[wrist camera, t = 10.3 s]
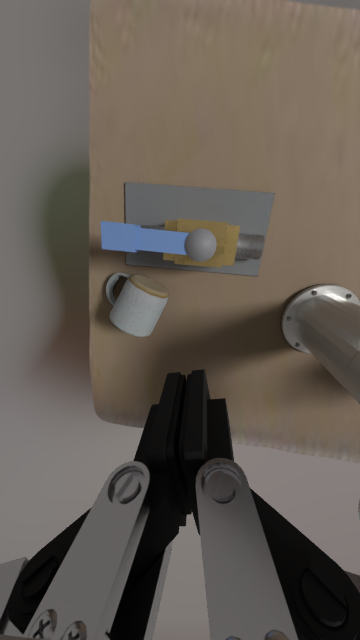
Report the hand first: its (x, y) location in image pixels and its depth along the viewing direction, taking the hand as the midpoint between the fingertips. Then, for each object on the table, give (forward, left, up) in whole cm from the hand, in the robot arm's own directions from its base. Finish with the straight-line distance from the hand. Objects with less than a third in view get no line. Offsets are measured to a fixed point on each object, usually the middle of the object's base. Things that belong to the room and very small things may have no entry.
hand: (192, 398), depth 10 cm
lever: (+5, -6, -21) cm, 22 cm away
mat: (+1, -7, -29) cm, 30 cm away
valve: (+1, -6, -29) cm, 30 cm away
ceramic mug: (+10, +4, -30) cm, 32 cm away
